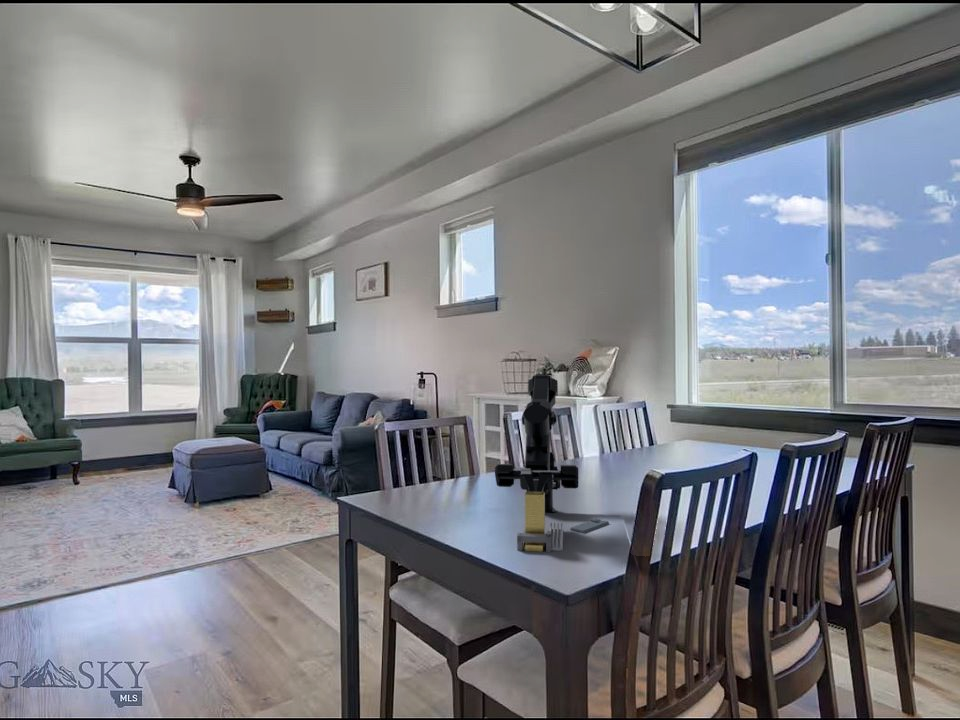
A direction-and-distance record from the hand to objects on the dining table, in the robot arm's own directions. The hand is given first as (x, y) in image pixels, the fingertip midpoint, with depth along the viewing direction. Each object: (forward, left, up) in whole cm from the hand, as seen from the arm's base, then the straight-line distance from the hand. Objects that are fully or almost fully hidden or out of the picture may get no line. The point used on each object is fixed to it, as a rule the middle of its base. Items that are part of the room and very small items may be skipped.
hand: (535, 508), depth 127 cm
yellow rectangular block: (+3, -1, -7) cm, 8 cm away
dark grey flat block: (-9, +15, -9) cm, 19 cm away
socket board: (0, 0, -8) cm, 8 cm away
